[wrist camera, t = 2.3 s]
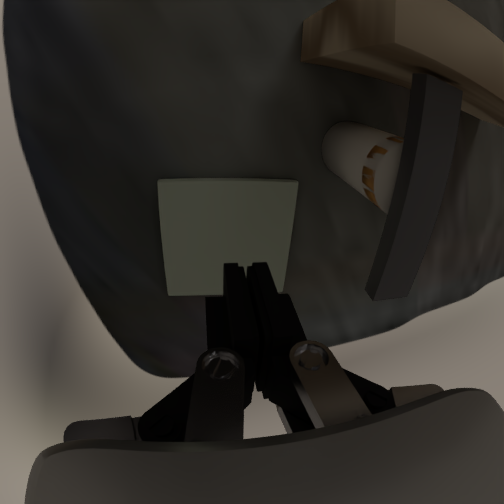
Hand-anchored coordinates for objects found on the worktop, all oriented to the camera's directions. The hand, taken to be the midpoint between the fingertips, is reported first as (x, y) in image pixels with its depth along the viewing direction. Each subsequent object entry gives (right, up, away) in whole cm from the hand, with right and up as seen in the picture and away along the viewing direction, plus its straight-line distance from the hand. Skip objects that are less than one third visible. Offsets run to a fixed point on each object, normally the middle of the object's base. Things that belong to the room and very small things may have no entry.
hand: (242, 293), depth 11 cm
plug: (+7, +9, +7) cm, 13 cm away
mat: (-1, +3, +9) cm, 9 cm away
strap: (+8, +4, +1) cm, 9 cm away
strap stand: (+12, +15, +4) cm, 20 cm away
